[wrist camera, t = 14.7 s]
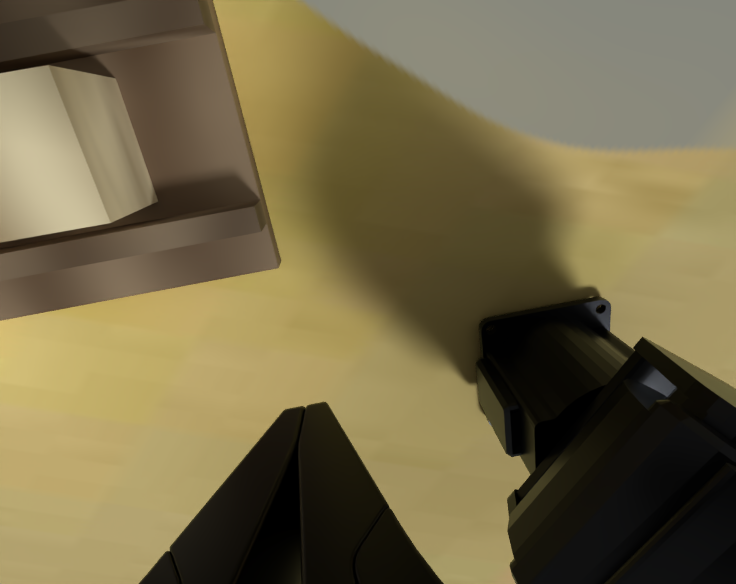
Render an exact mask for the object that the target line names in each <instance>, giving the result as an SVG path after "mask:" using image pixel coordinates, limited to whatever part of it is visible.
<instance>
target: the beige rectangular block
mask: <svg viewBox="0 0 736 584" xmlns="http://www.w3.org/2000/svg"><path fill="white" fill-rule="evenodd" d="M156 202H158V199H157V196H156V193H155V191H154V188H153V185H152V182H151V179H150V176H149V173H148V170H147V167H146V165H145V162H144V159H143V156H142V153H141V150H140V147H139V144H138V141H137V138H136V136H135V133H134V130H133V127H132V124H131V121H130V118H129V115H128V112H127V110H126V107H125V104H124V101H123V98H122V95H121V92H120V89H119V86H118V84H117V81H116V78H111V77H106V76H101V75H96V74H91V73H86V72H81V71H76V70H70V69H65V68H60V67H55V66H50V65H46V66H40V67H34V68H28V69H23V70H17V71H11V72H5V73H0V242H6V241H12V240H17V239H23V238H29V237H34V236H40V235H46V234H51V233H57V232H63V231H68V230H74V229H80V228H85V227H91V226H97V225H102V224H108V223H112V222H114V221H116V220H118V219H121V218H123V217H125V216H127V215H129V214H132V213H134V212H136V211H138V210H140V209H142V208H145V207H147V206H149V205H151V204H153V203H156Z"/></svg>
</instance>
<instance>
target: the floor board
mask: <svg viewBox="0 0 736 584" xmlns="http://www.w3.org/2000/svg"><path fill="white" fill-rule="evenodd" d="M46 65H50V66H55V67H60V68H65V69H70V70H76V71H81V72H86V73H91V74H96V75H101V76H106V77H111V78H116V81H117V84H118V86H119V89H120V92H121V95H122V98H123V101H124V104H125V107H126V110H127V112H128V115H129V118H130V121H131V124H132V127H133V130H134V133H135V136H136V138H137V141H138V144H139V147H140V150H141V153H142V156H143V159H144V162H145V165H146V167H147V170H148V173H149V176H150V179H151V182H152V185H153V188H154V191H155V193H156V196H157V199H158V202H156V203H153V204H151V205H149V206H147V207H145V208H142V209H140V210H138V211H136V212H134V213H132V214H129V215H127V216H125V217H123V218H121V219H118V220H116V221H114V222H112V223H108V224H102V225H97V226H91V227H85V228H80V229H74V230H68V231H63V232H57V233H51V234H46V235H40V236H34V237H29V238H23V239H17V240H12V241H6V242H0V321H1V320H6V319H11V318H17V317H22V316H27V315H33V314H38V313H43V312H48V311H54V310H59V309H64V308H70V307H75V306H80V305H86V304H91V303H96V302H101V301H107V300H112V299H117V298H123V297H128V296H133V295H138V294H144V293H149V292H154V291H160V290H165V289H170V288H175V287H181V286H186V285H191V284H197V283H202V282H207V281H212V280H218V279H223V278H228V277H234V276H239V275H244V274H249V273H255V272H260V271H265V270H271V269H276V268H279V265H280V263H281V259H280V255H279V251H278V247H277V243H276V240H275V236H274V232H273V228H272V224H271V221H270V217H269V213H268V209H267V205H266V202H265V198H264V194H263V190H262V186H261V182H260V179H259V175H258V171H257V167H256V163H255V160H254V156H253V152H252V148H251V144H250V141H249V137H248V133H247V129H246V125H245V122H244V118H243V114H242V110H241V106H240V103H239V99H238V95H237V91H236V87H235V83H234V80H233V76H232V72H231V68H230V64H229V61H228V57H227V53H226V49H225V45H224V42H223V38H222V34H221V30H220V26H219V23H218V19H217V15H216V11H215V7H214V3H213V0H0V73H5V72H11V71H17V70H23V69H28V68H34V67H40V66H46Z"/></svg>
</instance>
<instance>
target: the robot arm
mask: <svg viewBox="0 0 736 584" xmlns="http://www.w3.org/2000/svg"><path fill="white" fill-rule="evenodd" d="M598 305H601V308H600V309H599V310H596V308H597V307H598ZM610 315H611V305H610V303H609V302H608V301H607V300H605V299H604V298H602V297H593V298H588V299H583V300H577V301H572V302H567V303H562V304H556V305H551V306H546V307H541V308H535V309H530V310H525V311H520V312H514V313H509V314H504V315H499V316H493V317H488V318H485V319H484V320H482V321H481V323H480V324H479V337H480V349H481V358H480V359H478V361H477V362H476V373H477V384H478V395H479V402H480V404H481V406H482V408H483V410H484V412H485V414H486V418H487V420H488V422H489V424H490V425H491V426H492V427H493V429H494V431H495V433H496V435H497V437H498V439H499V441H500V443H501V445H502V447H503V449H504V450H505V452H506V454H508V455H509V456H511V457H514V456H519V455H520V457H521V458H522V460H523V462H524V464H525V466H526V467H527V469H528V471H529V473H530V474H531V475H530V476H529V478H528V479H527V480H526V481H525V482H524V484H523V485H522V486H521V487H520V488H519V490H516V489H515V490H514V491H513V492H512V494H511V495H510V496H509V497H508V498H507V503H508V511H509V523H508V530H507V531H508V535H509V539H510V543H511V548H512V552H513V555H514V559H513V561H512V562H511V563H510V569H511V573H512V577H513V579H514V581H515V583H516V584H736V389H735V388H733V387H732V386H730V385H729V384H727V383H725V382H724V381H722V380H720V379H718V378H716V377H715V376H713V375H711V374H709V373H707V372H706V371H704V370H702V369H700V368H698V367H696V366H695V365H693V364H691V363H689V362H687V361H686V360H684V359H682V358H680V357H678V356H677V355H675V354H673V353H671V352H669V351H668V350H666V349H664V348H662V347H660V346H659V345H657V344H655V343H653V342H651V341H650V340H648V339H646V338H644V337H642V338H641V339H640V340H639V341H638V343H637V344H636V345H635V346H634V347H633V349H635V350H633V349H632V348H631V347H629V346H628V345H627V344H625V343H624V342H623V341H621V340H620V339H619V338H617V337H616V336H615V335H613V334H612V333H611V332H610ZM491 325H494V326H493V329H492V330H490V331H486V329H487V328H488V326H491ZM139 584H443V582H442V581H441V580H440V579H439V578H438V576H437V575H436V574H435V572H434V571H433V570H432V569H431V567H430V566H429V565H428V563H427V562H426V561H425V559H424V558H423V557H422V555H421V554H420V553H419V552H418V550H417V549H416V547H415V546H414V544H413V543H412V541H411V540H410V538H409V537H408V535H407V534H406V532H405V531H404V529H403V528H402V526H401V525H400V523H399V521H398V520H397V518H396V516H395V515H394V513H393V511H392V510H391V509H390V508H389V505H388V504H387V502H386V500H385V499H384V497H383V495H382V494H381V492H380V490H379V489H378V487H377V485H376V484H375V482H374V480H373V479H372V477H371V475H370V474H369V472H368V470H367V469H366V467H365V465H364V464H363V462H362V460H361V459H360V457H359V455H358V454H357V452H356V450H355V449H354V447H353V445H352V444H351V442H350V440H349V439H348V437H347V435H346V434H345V432H344V430H343V429H342V427H341V425H340V424H339V422H338V420H337V419H336V417H335V415H334V414H333V412H332V410H331V409H330V407H329V405H328V404H327V403H326V402H321V403H316V404H311V405H308V406H307V407H306V408H305V407H304V406H300V407H295V408H290V409H286V410H284V411H283V412H282V413H281V414H280V416H279V417H278V418H277V419H276V420H275V422H274V423H273V424H272V425H271V426H270V428H269V429H268V430H267V431H266V432H265V434H264V435H263V436H262V437H261V438H260V440H259V441H258V442H257V443H256V444H255V446H254V447H253V448H252V449H251V450H250V451H249V453H248V454H247V455H246V456H245V457H244V459H243V460H242V461H241V462H240V463H239V465H238V466H237V467H236V468H235V469H234V471H233V472H232V473H231V474H230V475H229V477H228V478H227V479H226V480H225V481H224V483H223V484H222V485H221V486H220V487H219V489H218V490H217V491H216V492H215V493H214V495H213V496H212V497H211V498H210V499H209V501H208V502H207V503H206V504H205V505H204V507H203V508H202V509H201V510H200V511H199V513H198V514H197V515H196V516H195V517H194V519H193V520H192V521H191V522H190V523H189V525H188V526H187V527H186V528H185V529H184V531H183V532H182V533H181V534H180V535H179V537H178V538H177V539H176V540H175V541H174V543H173V544H172V545H171V546H170V551H166V552H165V553H164V554H163V556H162V557H161V558H160V559H159V560H158V562H157V563H156V564H155V565H154V566H153V568H152V569H151V570H150V571H149V572H148V573H147V575H146V576H145V577H144V578H143V579H142V580H141V582H140V583H139Z"/></svg>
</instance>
